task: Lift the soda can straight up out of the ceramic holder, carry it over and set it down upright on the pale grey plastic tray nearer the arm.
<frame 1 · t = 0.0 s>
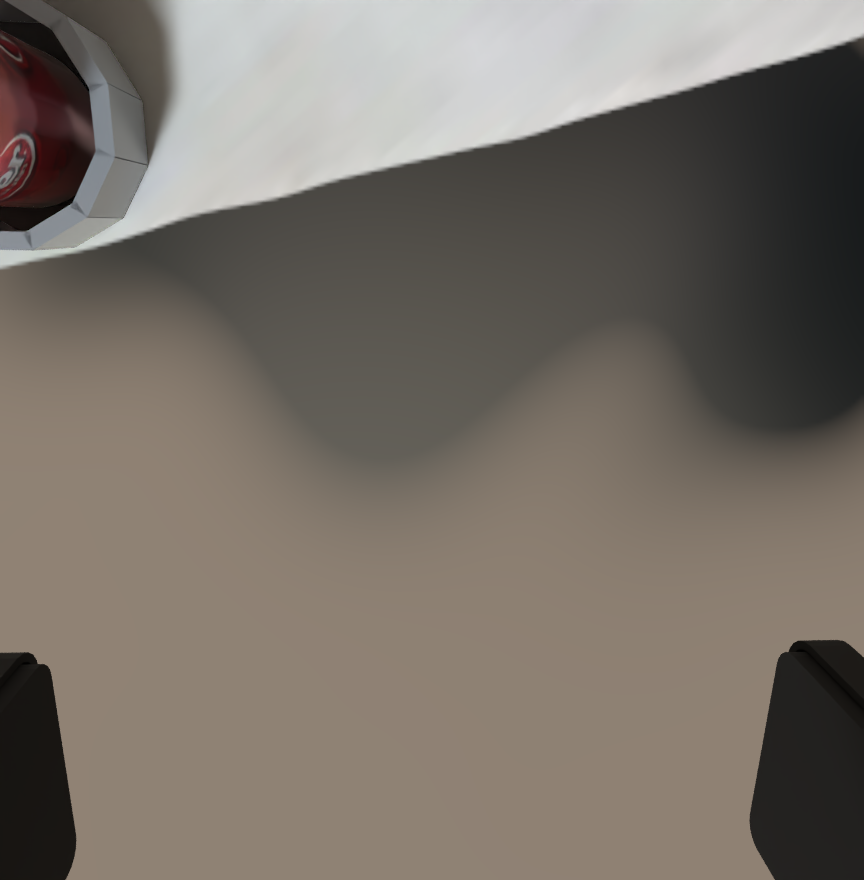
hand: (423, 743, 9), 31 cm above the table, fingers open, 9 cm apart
soda can: (32, 130, 35), resting in holder
holder: (30, 130, 35), on the table
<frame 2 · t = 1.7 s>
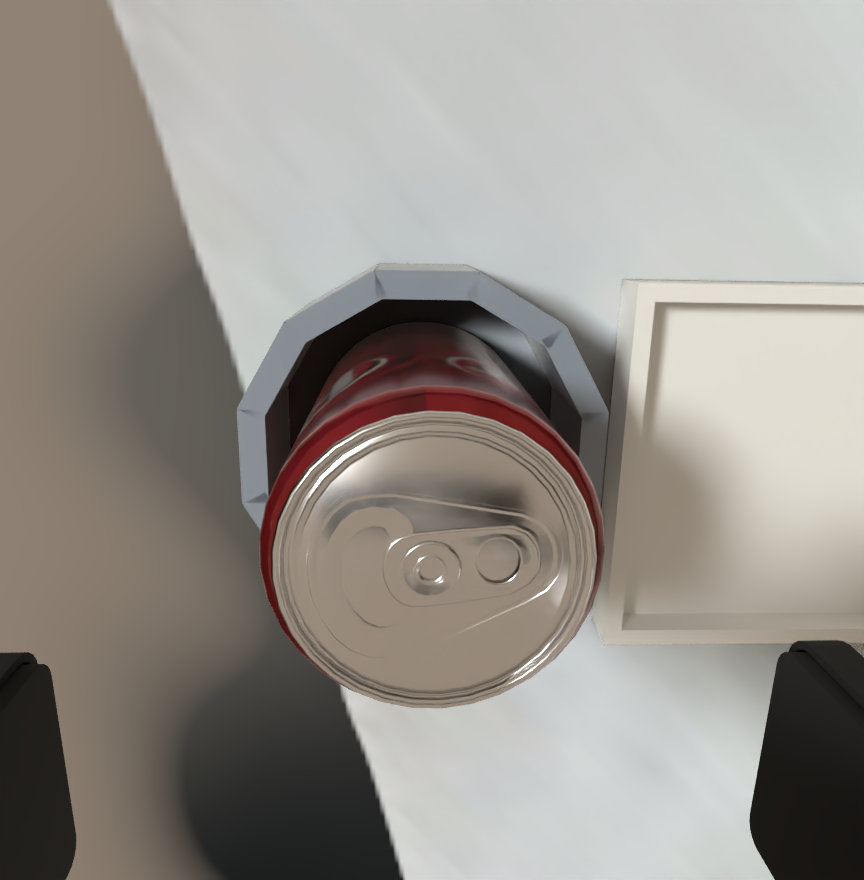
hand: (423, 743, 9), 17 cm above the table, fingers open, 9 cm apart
soda can: (420, 418, 26), resting in holder
holder: (420, 420, 26), on the table
tray: (779, 462, 27), on the table
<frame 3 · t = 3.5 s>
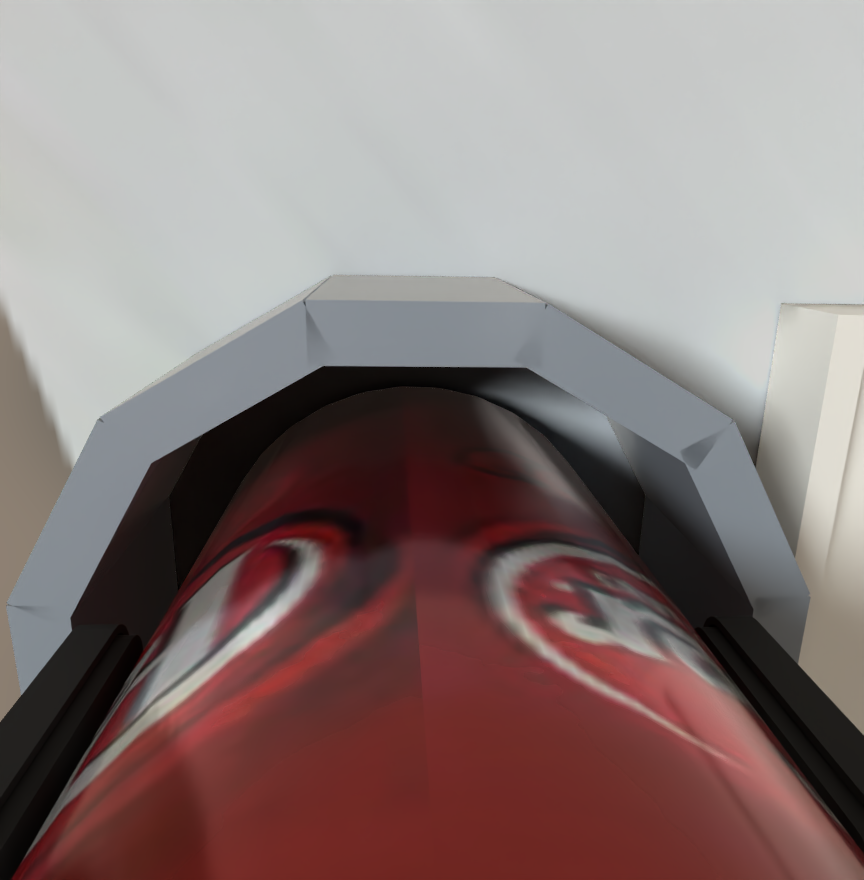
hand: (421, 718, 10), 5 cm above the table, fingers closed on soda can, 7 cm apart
soda can: (410, 549, 15), resting in holder, touching gripper
holder: (411, 553, 15), on the table
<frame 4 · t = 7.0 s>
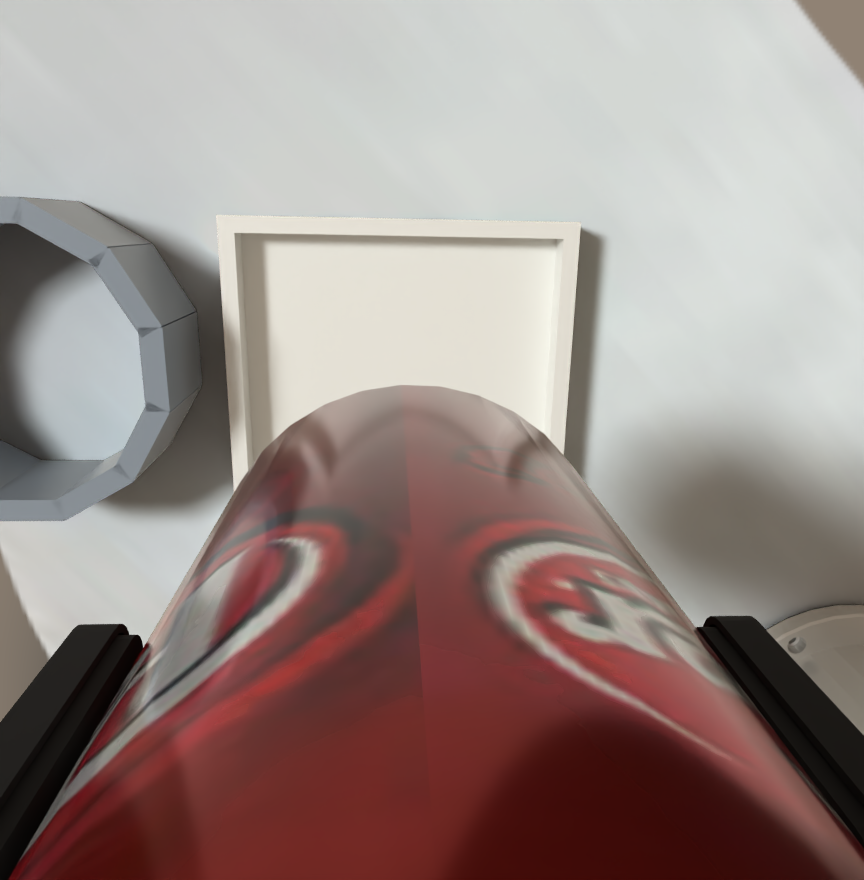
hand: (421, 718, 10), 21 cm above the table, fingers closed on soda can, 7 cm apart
soda can: (410, 549, 15), point 16 cm above the table, touching gripper
holder: (57, 347, 28), on the table
tray: (399, 386, 30), on the table
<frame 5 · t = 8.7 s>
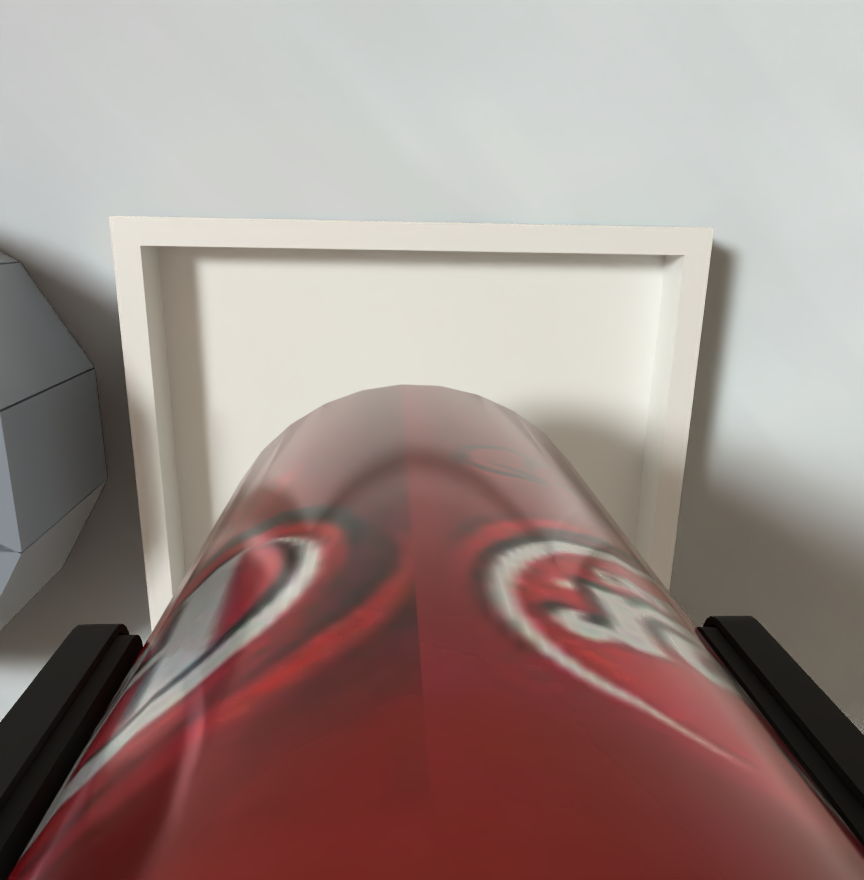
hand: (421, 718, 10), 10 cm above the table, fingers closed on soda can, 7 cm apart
soda can: (410, 548, 15), point 5 cm above the table, touching gripper
tray: (412, 480, 19), on the table
when the fingers open (7 cm above the table, at t = 10.3 s): soda can drops 2 cm, resting on tray.
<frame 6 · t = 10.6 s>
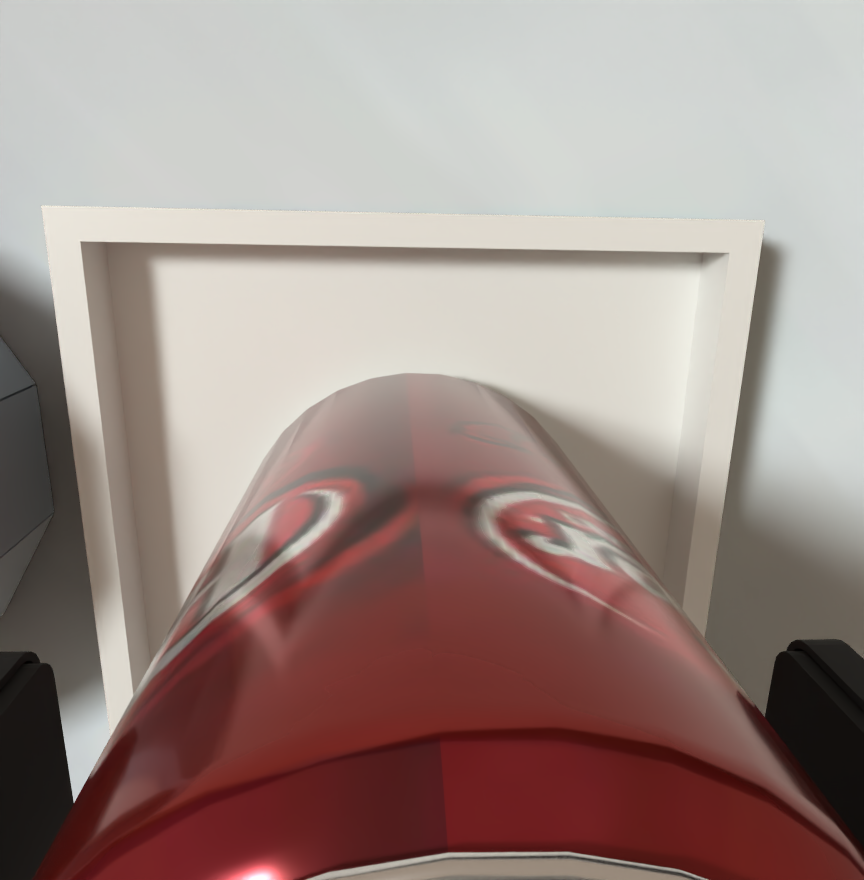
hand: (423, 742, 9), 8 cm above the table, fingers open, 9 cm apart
soda can: (414, 521, 16), resting on tray
tray: (408, 511, 17), on the table
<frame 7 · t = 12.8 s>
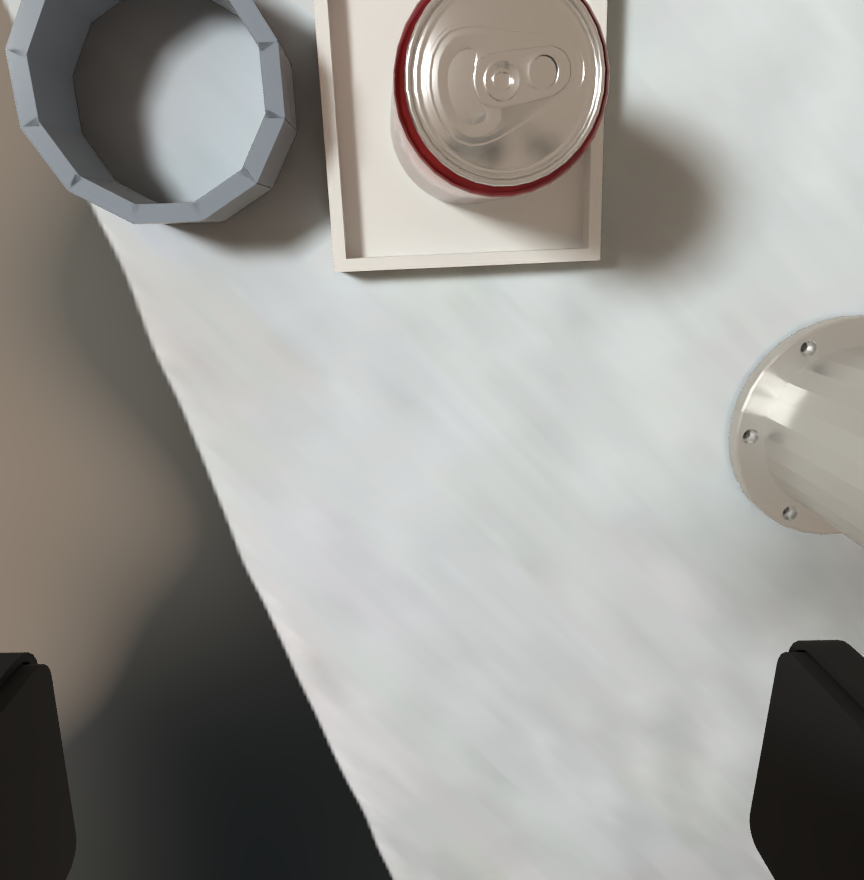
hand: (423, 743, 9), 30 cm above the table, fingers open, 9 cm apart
soda can: (464, 126, 35), resting on tray
holder: (178, 102, 34), on the table
tray: (461, 126, 35), on the table
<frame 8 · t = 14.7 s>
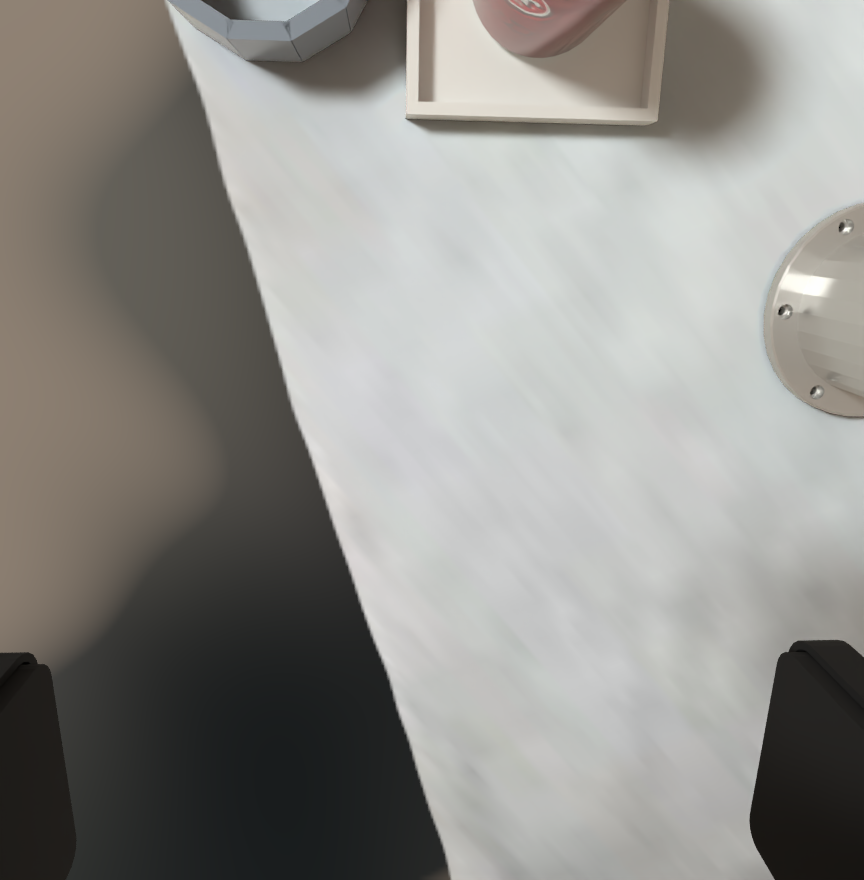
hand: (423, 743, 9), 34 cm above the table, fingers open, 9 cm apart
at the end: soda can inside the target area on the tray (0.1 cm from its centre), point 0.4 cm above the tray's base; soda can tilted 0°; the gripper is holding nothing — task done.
